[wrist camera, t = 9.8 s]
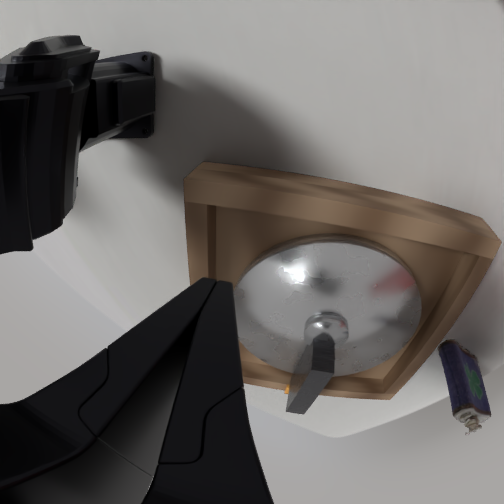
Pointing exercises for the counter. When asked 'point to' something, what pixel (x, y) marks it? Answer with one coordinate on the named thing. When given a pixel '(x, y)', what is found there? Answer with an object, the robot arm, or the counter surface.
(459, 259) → the wooden tray
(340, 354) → the dial
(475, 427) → the flask
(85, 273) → the counter surface
